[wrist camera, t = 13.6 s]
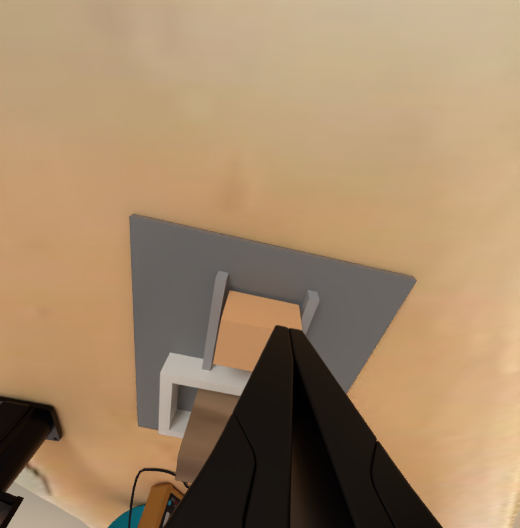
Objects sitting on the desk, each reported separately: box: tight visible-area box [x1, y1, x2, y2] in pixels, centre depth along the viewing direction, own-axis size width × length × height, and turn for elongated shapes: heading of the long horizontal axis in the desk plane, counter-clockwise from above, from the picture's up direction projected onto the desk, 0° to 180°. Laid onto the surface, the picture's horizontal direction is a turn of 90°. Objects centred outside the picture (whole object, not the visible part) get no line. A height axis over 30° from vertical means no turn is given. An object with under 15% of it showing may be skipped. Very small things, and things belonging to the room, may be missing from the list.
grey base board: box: [129, 214, 417, 438], centre depth 21 cm, size 24×19×2 cm
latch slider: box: [213, 290, 302, 372], centre depth 17 cm, size 4×5×3 cm
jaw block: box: [175, 388, 240, 483], centre depth 21 cm, size 4×7×6 cm, turn 78°
